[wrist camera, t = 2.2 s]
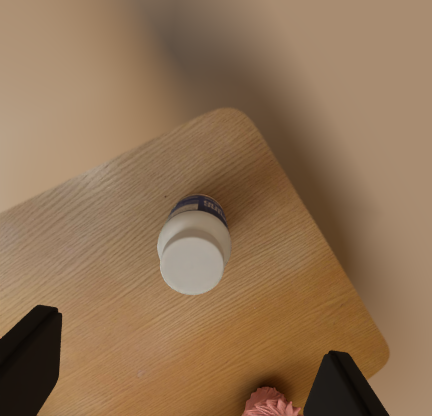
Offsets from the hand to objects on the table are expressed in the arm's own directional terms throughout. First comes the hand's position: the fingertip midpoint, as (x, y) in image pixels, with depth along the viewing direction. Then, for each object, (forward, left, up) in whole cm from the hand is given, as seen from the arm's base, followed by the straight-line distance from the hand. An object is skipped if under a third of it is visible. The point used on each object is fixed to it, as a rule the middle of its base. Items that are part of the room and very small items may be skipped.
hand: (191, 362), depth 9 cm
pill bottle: (0, 0, -17) cm, 17 cm away
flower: (+21, -12, -17) cm, 29 cm away
